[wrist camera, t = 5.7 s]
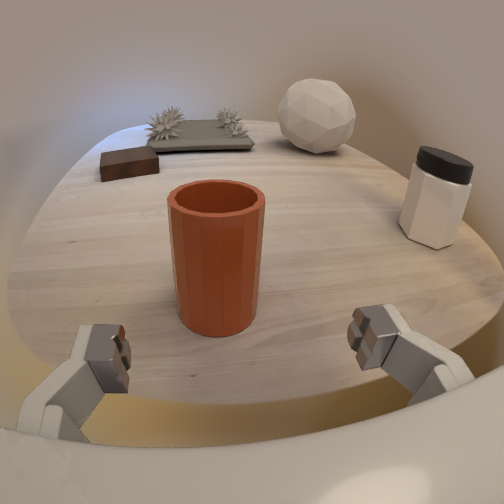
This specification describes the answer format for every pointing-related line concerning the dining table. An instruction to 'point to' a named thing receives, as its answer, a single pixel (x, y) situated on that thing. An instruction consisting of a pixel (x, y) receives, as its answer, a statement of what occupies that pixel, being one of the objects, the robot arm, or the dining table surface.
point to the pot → (216, 254)
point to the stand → (128, 163)
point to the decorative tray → (197, 133)
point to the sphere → (316, 115)
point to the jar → (436, 197)
